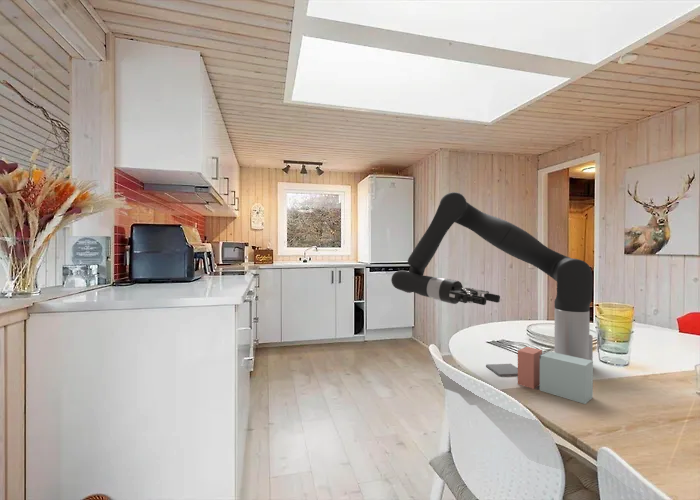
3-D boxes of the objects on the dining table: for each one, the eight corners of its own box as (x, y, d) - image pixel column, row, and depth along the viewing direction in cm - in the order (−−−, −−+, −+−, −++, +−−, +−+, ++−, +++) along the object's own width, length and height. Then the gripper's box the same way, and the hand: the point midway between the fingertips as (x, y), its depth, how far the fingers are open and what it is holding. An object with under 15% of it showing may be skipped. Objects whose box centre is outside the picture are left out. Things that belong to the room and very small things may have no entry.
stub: (517, 383, 91) (517, 350, 91) (526, 378, 94) (526, 346, 94) (533, 388, 88) (533, 354, 88) (542, 383, 91) (542, 349, 91)
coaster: (510, 365, 105) (510, 363, 105) (526, 375, 97) (526, 373, 97) (485, 366, 104) (485, 364, 104) (499, 376, 96) (499, 374, 96)
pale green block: (535, 389, 87) (535, 354, 87) (544, 383, 91) (544, 350, 91) (585, 404, 79) (585, 365, 79) (592, 397, 83) (592, 360, 82)
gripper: (433, 279, 106) (482, 289, 94) (457, 277, 115) (504, 286, 103) (430, 303, 106) (479, 315, 94) (455, 299, 116) (502, 310, 104)
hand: (492, 300), depth 99 cm, fingers open, 8 cm apart
